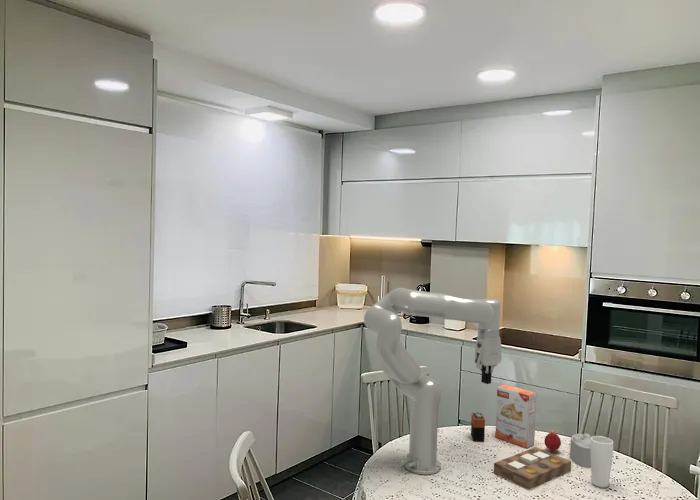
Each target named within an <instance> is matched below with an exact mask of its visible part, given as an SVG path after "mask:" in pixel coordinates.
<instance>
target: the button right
mask: <svg viewBox="0 0 700 500" xmlns="http://www.w3.org/2000/svg"><path fill="white" fill-rule="evenodd" d="M532 455H533V456H535V457H538V458H540V459H542V460H544V459H547V458H549V457H550V455H547V454H545V453H543V452H540V451H539V452H536V453H534V454H532Z"/></svg>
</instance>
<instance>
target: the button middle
mask: <svg viewBox="0 0 700 500" xmlns="http://www.w3.org/2000/svg"><path fill="white" fill-rule="evenodd" d="M520 460H521V461H523V462H526V463H528V464H530V465H532V464H534V463H537V462H538V457H535V456H533V455H530V454H525V455H522V456H520Z"/></svg>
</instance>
